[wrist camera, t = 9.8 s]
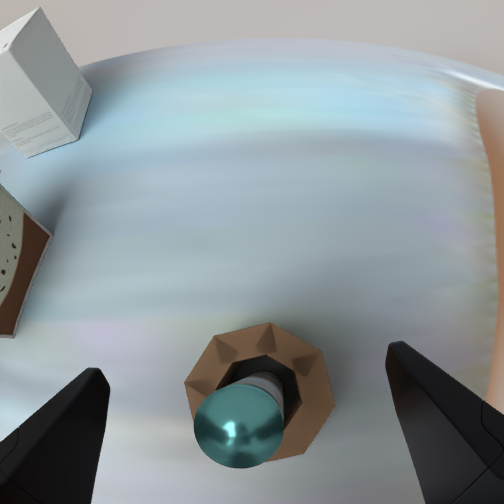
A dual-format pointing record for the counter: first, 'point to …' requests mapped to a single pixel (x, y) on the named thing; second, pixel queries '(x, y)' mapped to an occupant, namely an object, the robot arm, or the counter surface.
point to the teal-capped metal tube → (242, 421)
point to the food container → (18, 259)
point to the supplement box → (39, 87)
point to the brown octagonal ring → (285, 352)
